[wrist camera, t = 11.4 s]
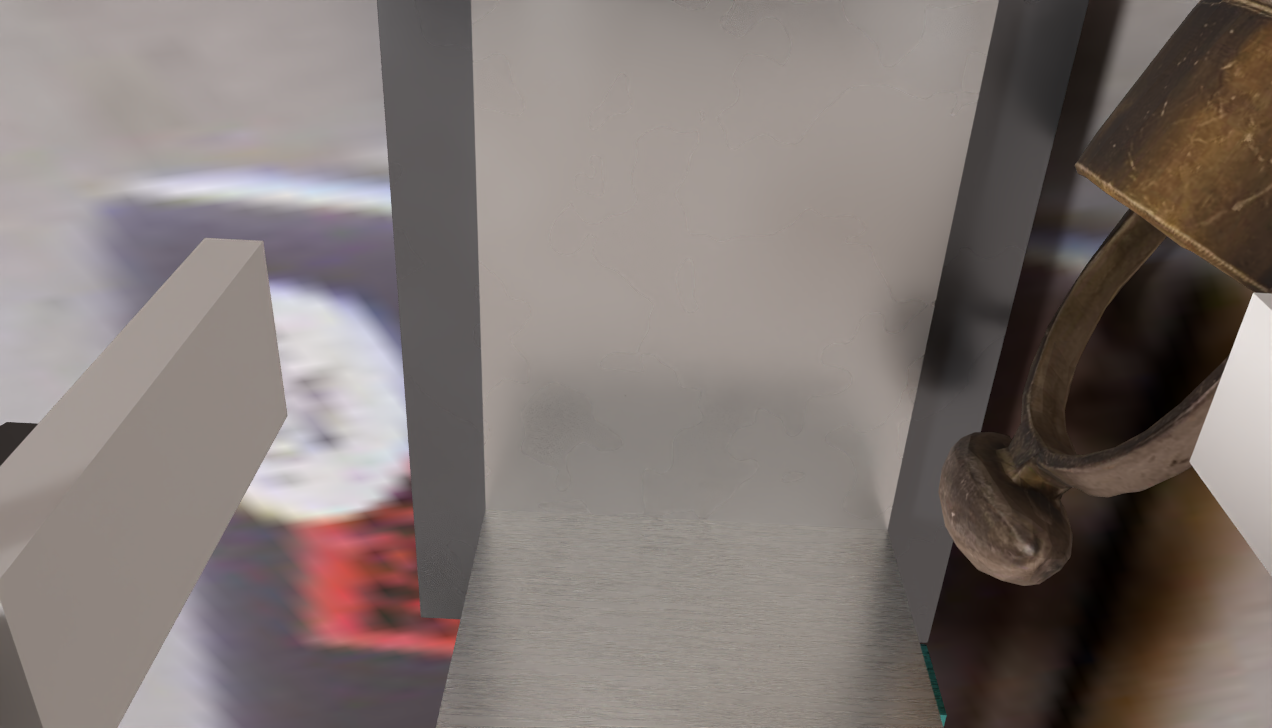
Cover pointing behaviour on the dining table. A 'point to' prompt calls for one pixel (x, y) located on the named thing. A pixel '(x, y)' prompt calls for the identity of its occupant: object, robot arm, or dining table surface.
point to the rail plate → (703, 338)
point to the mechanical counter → (1158, 208)
